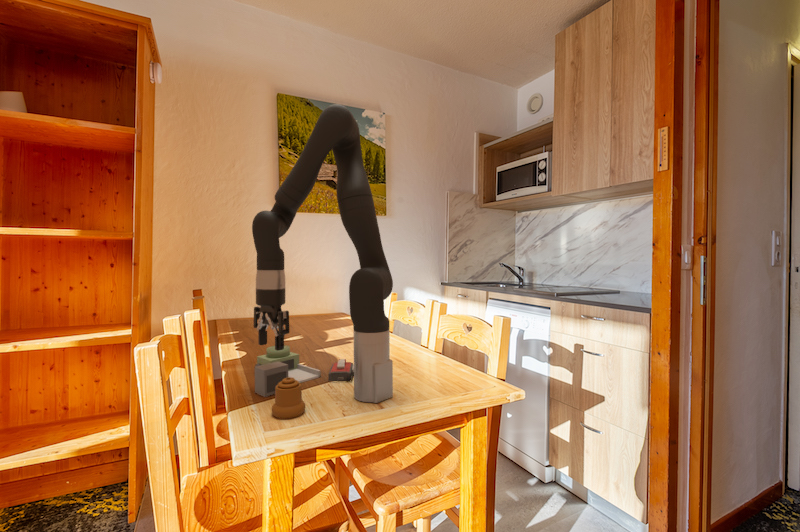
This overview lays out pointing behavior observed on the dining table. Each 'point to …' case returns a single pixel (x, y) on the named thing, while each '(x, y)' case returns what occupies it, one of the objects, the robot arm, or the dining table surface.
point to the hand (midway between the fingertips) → (270, 347)
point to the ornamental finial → (288, 399)
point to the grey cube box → (269, 377)
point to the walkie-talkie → (341, 371)
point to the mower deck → (289, 363)
